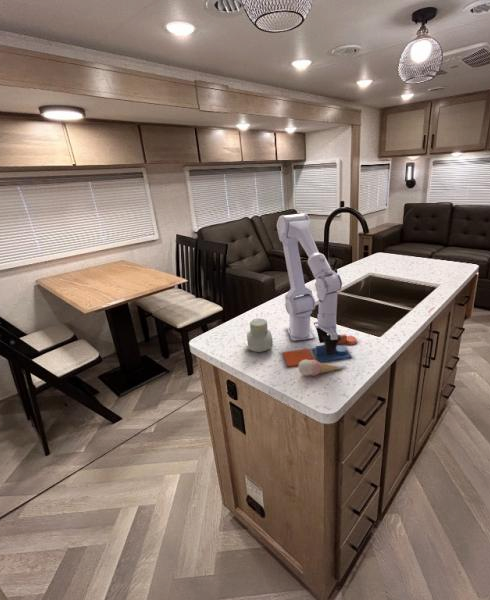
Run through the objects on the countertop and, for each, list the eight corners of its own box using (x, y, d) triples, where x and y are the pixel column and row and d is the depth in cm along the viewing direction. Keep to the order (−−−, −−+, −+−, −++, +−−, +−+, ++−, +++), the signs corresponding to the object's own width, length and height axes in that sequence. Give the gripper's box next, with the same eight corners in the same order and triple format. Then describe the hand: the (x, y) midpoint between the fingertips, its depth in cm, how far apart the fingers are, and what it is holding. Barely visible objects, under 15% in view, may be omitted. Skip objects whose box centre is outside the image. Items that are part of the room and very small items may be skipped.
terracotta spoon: (329, 347, 112) (329, 340, 110) (325, 341, 115) (325, 334, 114) (358, 343, 114) (358, 336, 112) (353, 338, 117) (354, 331, 116)
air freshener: (273, 354, 108) (272, 328, 104) (249, 357, 107) (247, 330, 103) (269, 338, 118) (268, 314, 114) (247, 340, 117) (245, 316, 113)
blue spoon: (317, 358, 105) (317, 350, 104) (314, 351, 108) (314, 344, 107) (348, 353, 107) (349, 346, 106) (344, 347, 110) (344, 340, 109)
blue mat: (312, 349, 110) (312, 348, 110) (342, 345, 113) (342, 344, 112) (319, 362, 103) (319, 361, 103) (351, 358, 105) (351, 356, 105)
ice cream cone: (338, 365, 103) (294, 364, 98) (344, 357, 100) (299, 356, 95) (341, 378, 100) (297, 378, 95) (348, 371, 97) (302, 370, 92)
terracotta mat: (282, 353, 108) (282, 352, 108) (308, 350, 110) (308, 349, 110) (287, 367, 101) (287, 365, 101) (315, 363, 103) (315, 362, 103)
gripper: (309, 303, 107) (308, 338, 112) (322, 322, 94) (321, 361, 99) (329, 301, 108) (327, 336, 114) (345, 320, 95) (342, 358, 101)
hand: (326, 348), depth 107 cm, fingers open, 7 cm apart
